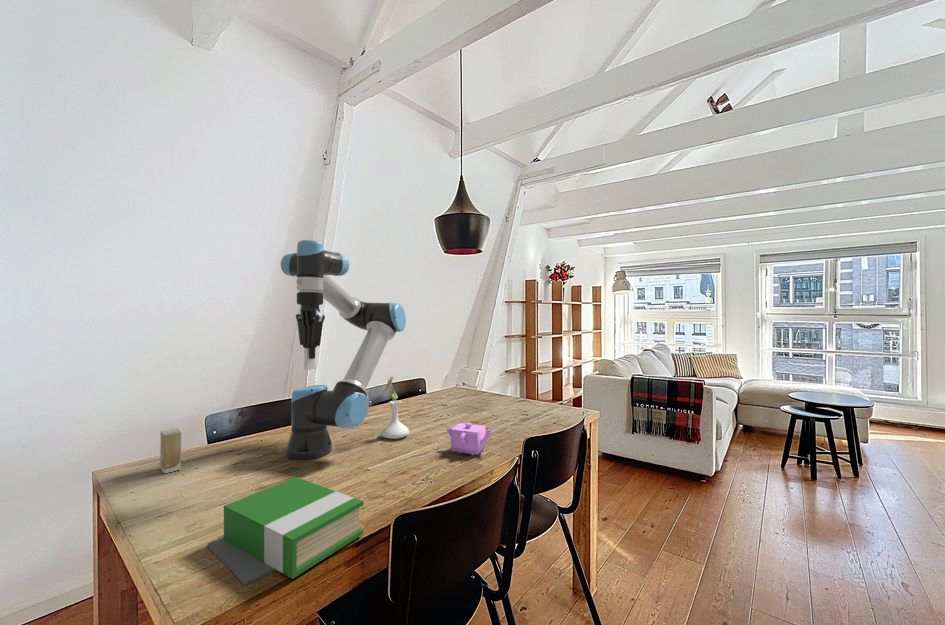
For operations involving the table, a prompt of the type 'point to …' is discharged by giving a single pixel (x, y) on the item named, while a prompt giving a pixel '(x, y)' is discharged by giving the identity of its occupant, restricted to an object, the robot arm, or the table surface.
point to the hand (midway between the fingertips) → (309, 369)
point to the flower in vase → (394, 418)
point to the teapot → (468, 438)
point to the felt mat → (239, 561)
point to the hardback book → (292, 524)
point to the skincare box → (170, 450)
